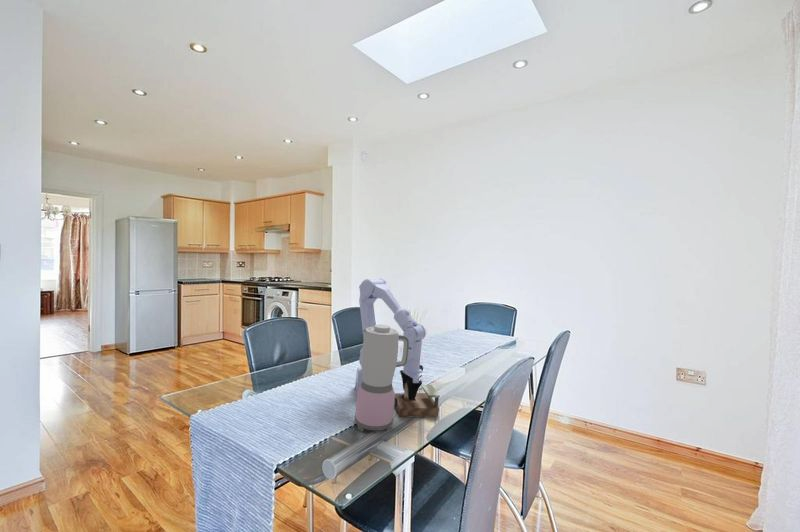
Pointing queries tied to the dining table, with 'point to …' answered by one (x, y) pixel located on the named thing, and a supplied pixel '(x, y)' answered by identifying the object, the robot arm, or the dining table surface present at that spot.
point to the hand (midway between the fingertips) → (408, 394)
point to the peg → (406, 393)
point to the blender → (379, 377)
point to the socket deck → (419, 403)
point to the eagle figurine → (421, 369)
